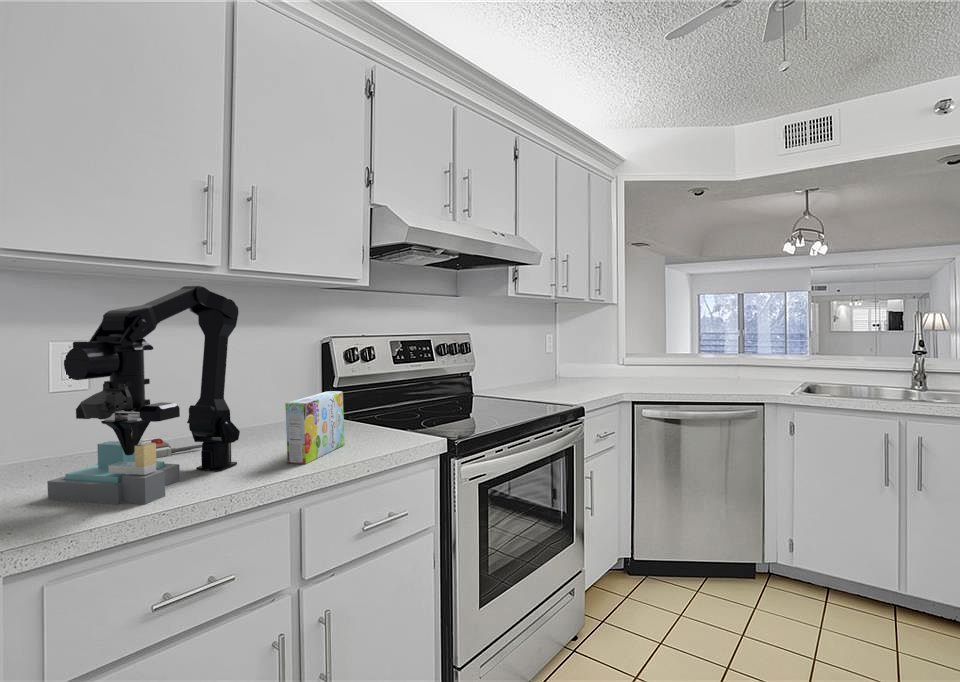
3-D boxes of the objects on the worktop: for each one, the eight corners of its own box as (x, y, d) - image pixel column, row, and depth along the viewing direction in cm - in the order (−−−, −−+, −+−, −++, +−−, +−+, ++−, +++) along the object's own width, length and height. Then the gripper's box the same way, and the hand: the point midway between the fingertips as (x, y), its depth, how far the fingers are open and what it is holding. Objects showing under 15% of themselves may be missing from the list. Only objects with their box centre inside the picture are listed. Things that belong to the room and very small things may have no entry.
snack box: (326, 444, 156) (326, 390, 155) (345, 445, 155) (344, 391, 154) (285, 463, 135) (284, 401, 135) (306, 465, 134) (305, 402, 133)
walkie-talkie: (116, 466, 135) (203, 451, 149) (116, 447, 135) (203, 435, 149) (107, 460, 141) (191, 446, 155) (106, 442, 141) (191, 430, 155)
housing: (116, 476, 124) (116, 454, 124) (200, 481, 120) (199, 458, 120) (48, 499, 109) (47, 473, 108) (141, 505, 104) (140, 479, 104)
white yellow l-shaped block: (121, 468, 111) (120, 441, 111) (156, 470, 109) (155, 442, 109) (108, 472, 108) (107, 444, 108) (144, 475, 106) (143, 446, 106)
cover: (116, 470, 122) (115, 436, 122) (164, 473, 119) (163, 438, 119) (65, 486, 110) (64, 448, 110) (117, 489, 108) (116, 451, 107)
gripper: (47, 378, 102) (50, 463, 103) (134, 380, 98) (137, 468, 99) (100, 372, 113) (102, 449, 114) (180, 374, 109) (182, 453, 110)
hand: (129, 454), depth 109 cm, fingers closed
